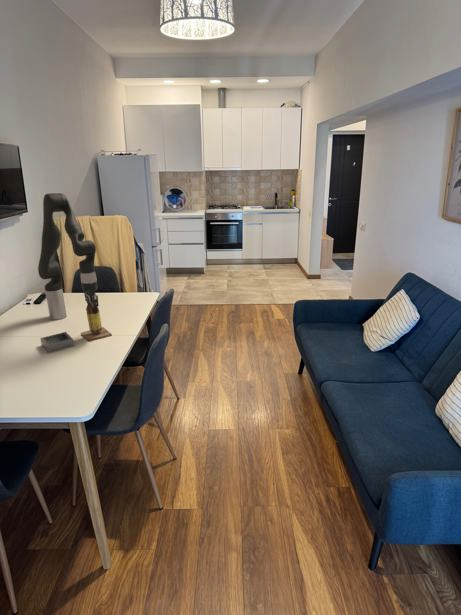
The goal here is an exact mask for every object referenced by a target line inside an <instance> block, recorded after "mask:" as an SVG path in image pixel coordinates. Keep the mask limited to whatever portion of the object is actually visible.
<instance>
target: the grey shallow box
mask: <svg viewBox="0 0 461 615" xmlns="http://www.w3.org/2000/svg"><path fill="white" fill-rule="evenodd" d="M40 343H41V347H42V348H43V349H44V350H45V351H46V353H47V354H50V353H54V352H57V351H60V350H61V351H62V350H66V349H69V348H73V347H75V343H74V339H73V337H72V336H71V335H70V334H69V333H67V331H64V332H61V333H60V332H59V333H55V334H51V335H47V336H44V337H40Z"/></svg>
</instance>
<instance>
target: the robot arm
mask: <svg viewBox="0 0 461 615" xmlns="http://www.w3.org/2000/svg"><path fill="white" fill-rule="evenodd" d="M42 202H43V203H42V204H43V205H42V206H43V207H42V208H43V209H42V212H43V216H42V217H43V222H42V223H43V225H42V234H41V248H40V249H41V250H40V257H39V261H38V266H37V267H38V268H37V269H38V270H37V271H38V275H39V278H41V279H42V280H49V279H50V281H48V282H46V284H45V285H44V291H45V298H46V303H47V304H46V305H47V307H48V308H47V309H48V313H49V319H50V320H52V321H53V320H54V321H55V320H62V319H65V318H67V317H68V316H67V309H66V304H65V298H64V291H63V281H62V280H63V279H62V270H61V266H60V263H59V262H58V261H56V260H51V259H52V258H53V256H54V255H55V254H56V252H57V251H58V250H59V248H60V245H61V237H62V233H61V230H60V229H59V227H58V226H57V224H56V222H55V220H54V216H53V215H54V213H60V212H63V213H64V214H65V220H64V225H63V226H64V231H65V233H66V234H67V236H68V238H69V240H70V241H71V245H72V251H73V254H74V255H75V256H77V257H85V256H86V257H85V258H84V259H82V260H80V261H79V264H78V265H79V267H78V268H79V272H80V276H79V277H80V283H81V290H82V292H83V295H84V299H85V302H86V304H88V303H87V298H86V296H88V298H89V301H90V303H91V305H92V310H93V314H97V313H98V311H97V307H99V295H97V294H96V292H95V291H97V290H98V280H97V275H96V274H97V273H96V269H95V268H96V267H95V259H96V252H97V246H96V243H95V242H94V241H93V240H90V239H89V240H84V239H85V232H84V231H83V229H82V227H81V226H80V224H79V223H78V220H77V218H76V216H75V214H74V210H73V209H72V206H71V203H70V201H69V199H68V197H67V196H66V194H65V193H61V192H59V193H58V192H56V193H54V192H53V193H52V192H51V193H45V194H44V196H43V201H42ZM92 300H93V301H92Z"/></svg>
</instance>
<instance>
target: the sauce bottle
mask: <svg viewBox="0 0 461 615" xmlns="http://www.w3.org/2000/svg"><path fill="white" fill-rule="evenodd" d="M86 298H87V301H86V304H87V303H88V304H87V305H86V308H85V310H86V316H87V317H86V318H87V322H88V328H89V331H90V332H92V333H97V332H100V331H101V330H102V327H103V325H102V321H101V314H100V309H99V306H97V311H98V313H97V314H93V310H92V305H91V303H90V301H89V298H88V296H86ZM92 301H93V300H92Z"/></svg>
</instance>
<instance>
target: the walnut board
mask: <svg viewBox="0 0 461 615" xmlns="http://www.w3.org/2000/svg"><path fill="white" fill-rule="evenodd" d="M80 334H81V336H82V337H84V339H86V340H87V341H88V342H93V341H97V340H100V339H104V338H108V337H111V336H113V335H112V333H111V332H110V331H109V330H107V329H106V328H105V327H103V326H102V330H101V331H100V332H97V333H92V332H90V330H87V331H82V332H81V333H80Z"/></svg>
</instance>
